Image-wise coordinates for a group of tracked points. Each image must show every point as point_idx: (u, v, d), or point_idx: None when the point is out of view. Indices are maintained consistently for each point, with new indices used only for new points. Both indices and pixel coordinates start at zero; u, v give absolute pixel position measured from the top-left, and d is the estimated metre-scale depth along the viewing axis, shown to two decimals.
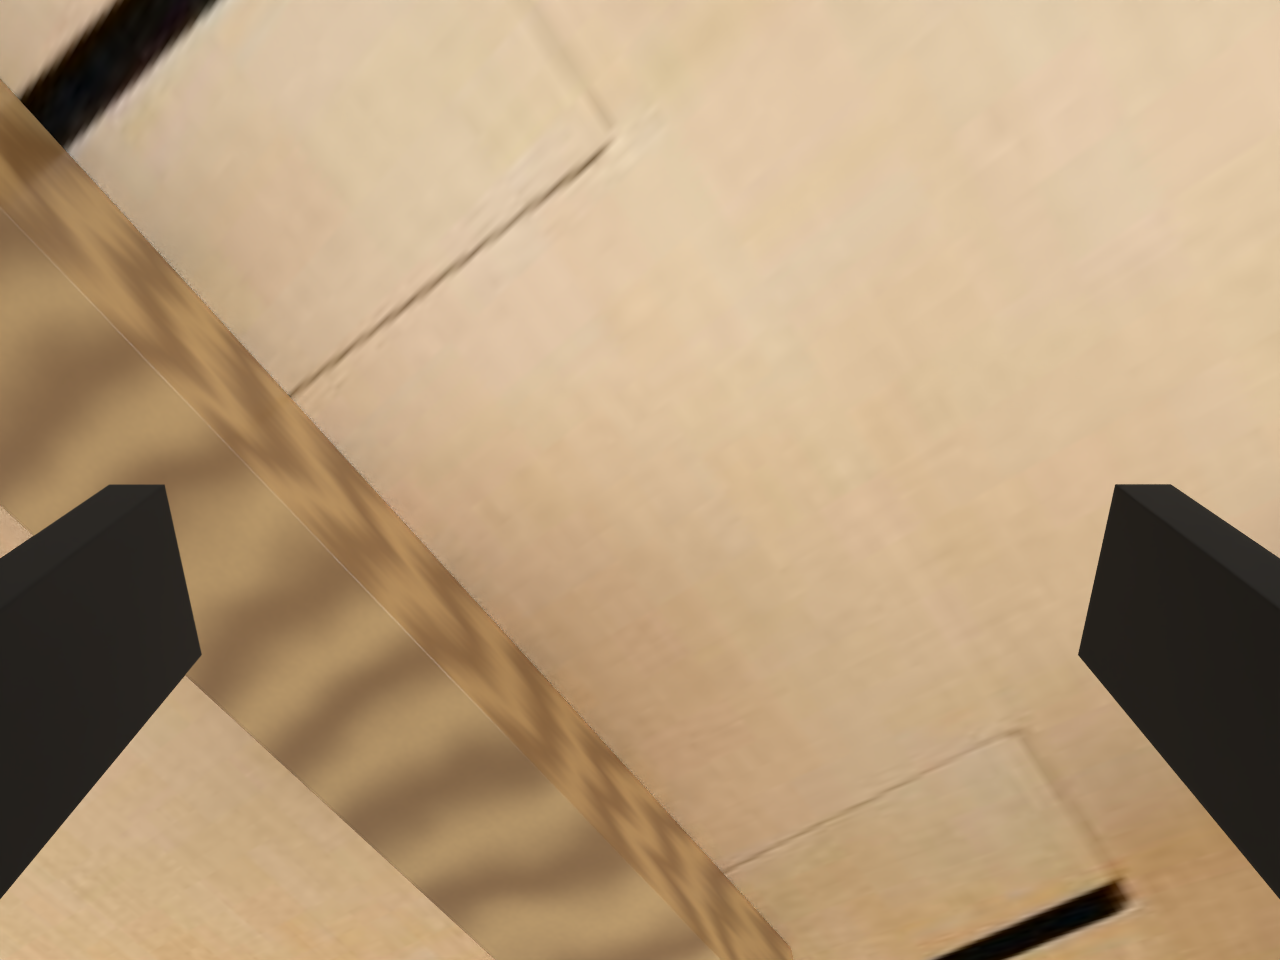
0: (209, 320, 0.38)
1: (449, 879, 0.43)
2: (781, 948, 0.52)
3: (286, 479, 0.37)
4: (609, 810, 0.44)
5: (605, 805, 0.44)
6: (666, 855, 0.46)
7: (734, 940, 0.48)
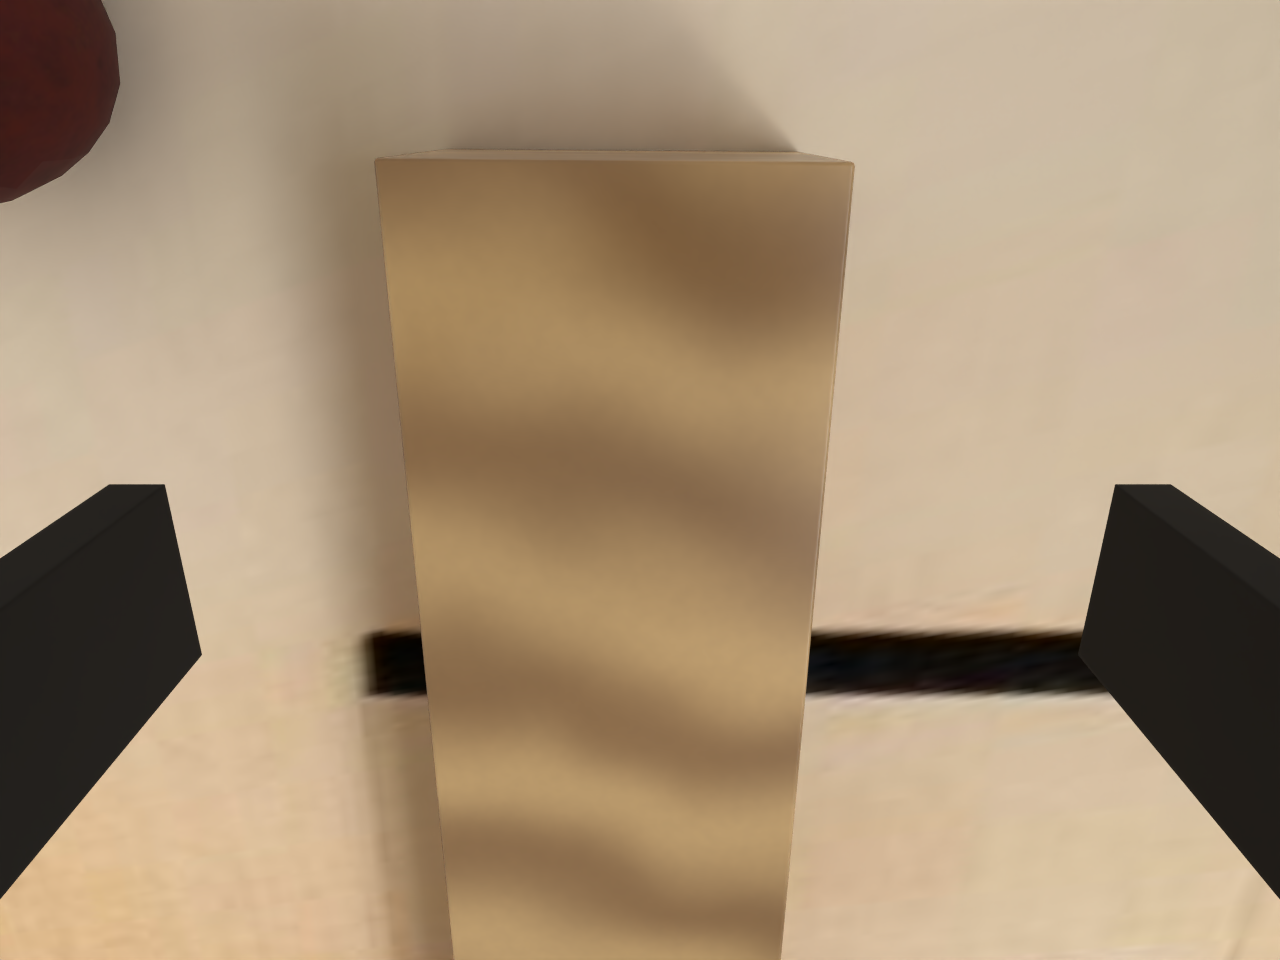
0: None
1: None
2: None
3: None
4: None
5: None
6: None
7: None
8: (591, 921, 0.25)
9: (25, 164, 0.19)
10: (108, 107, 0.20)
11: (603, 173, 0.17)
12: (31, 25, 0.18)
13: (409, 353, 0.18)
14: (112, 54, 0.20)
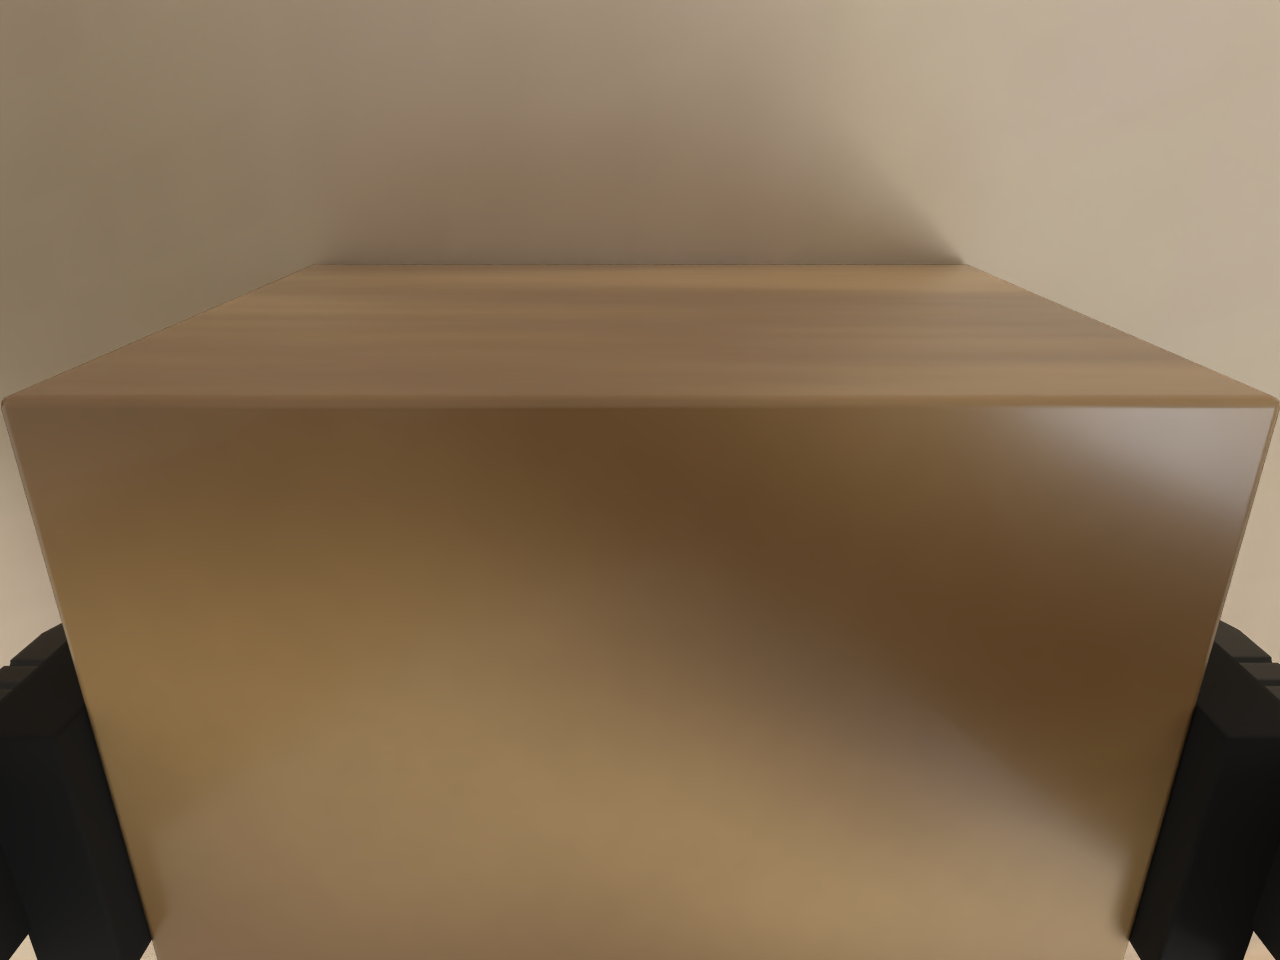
0: None
1: None
2: None
3: None
4: None
5: None
6: None
7: None
8: None
9: None
10: None
11: (611, 431, 0.06)
12: None
13: (153, 817, 0.08)
14: None
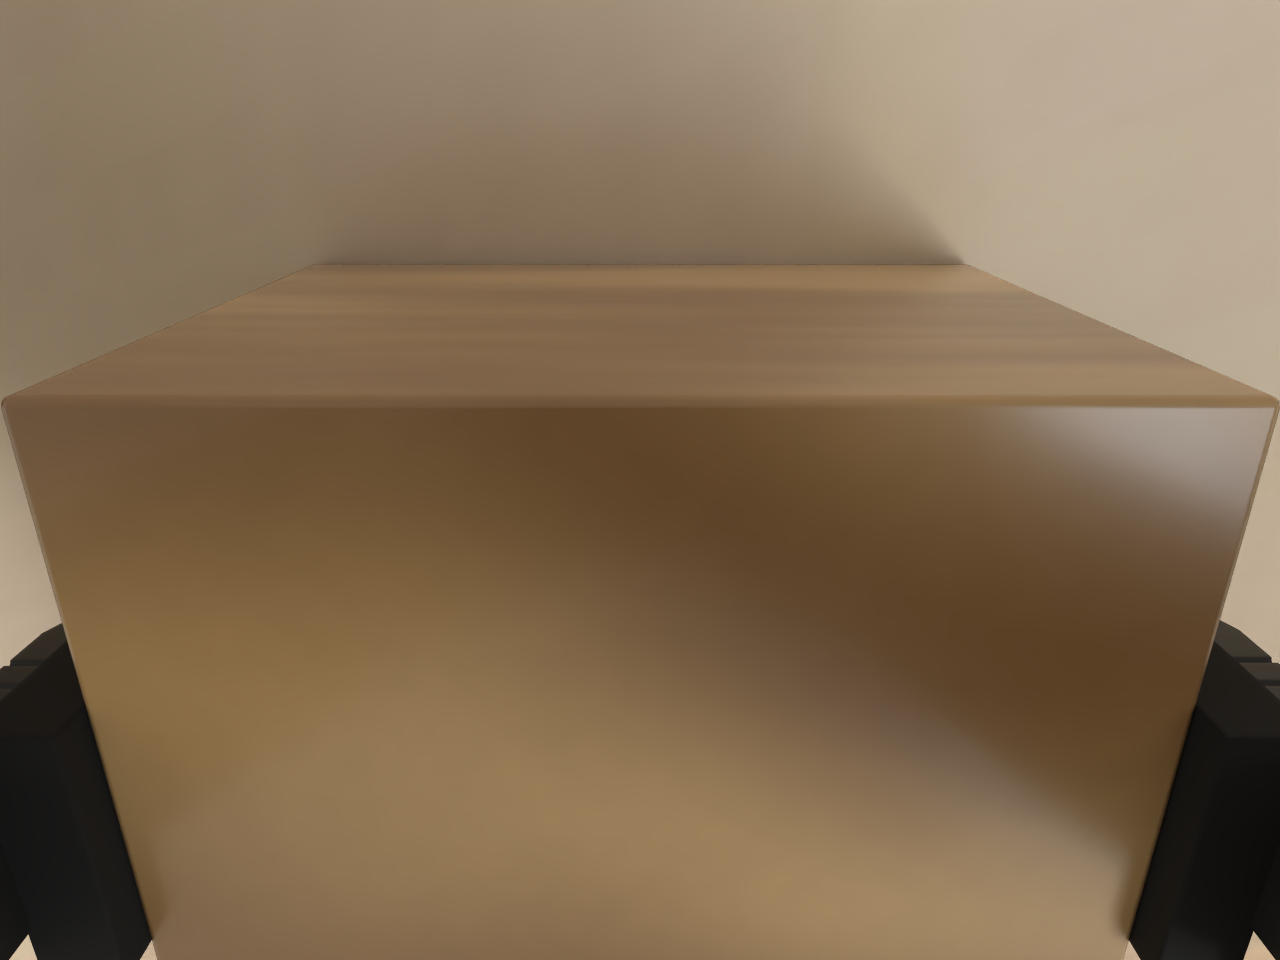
0: None
1: None
2: None
3: None
4: None
5: None
6: None
7: None
8: None
9: None
10: None
11: (611, 431, 0.06)
12: None
13: (152, 816, 0.08)
14: None
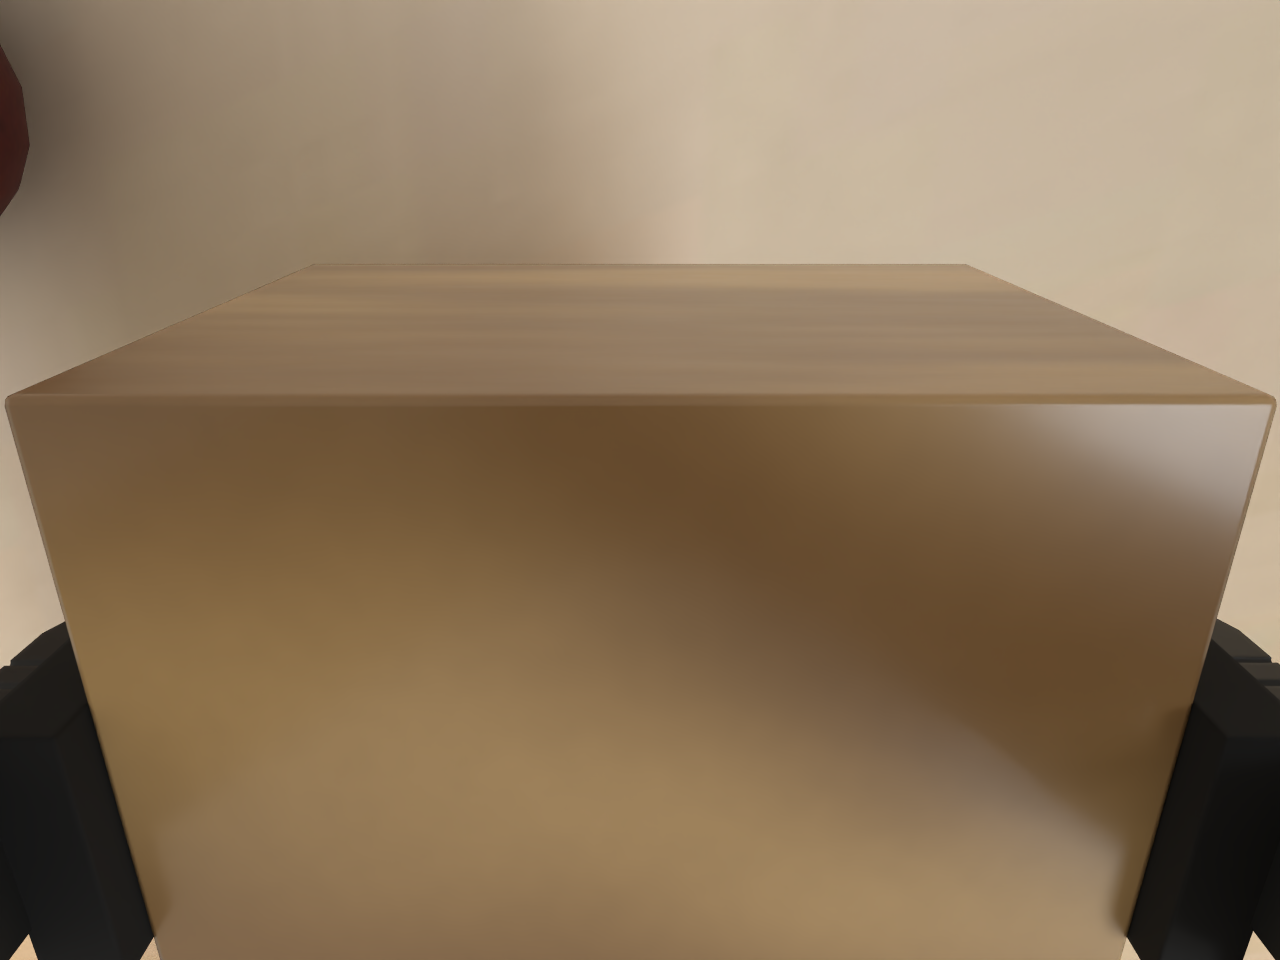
0: None
1: None
2: None
3: None
4: None
5: None
6: None
7: None
8: None
9: None
10: (15, 173, 0.18)
11: (612, 429, 0.06)
12: None
13: (155, 813, 0.08)
14: (19, 113, 0.17)
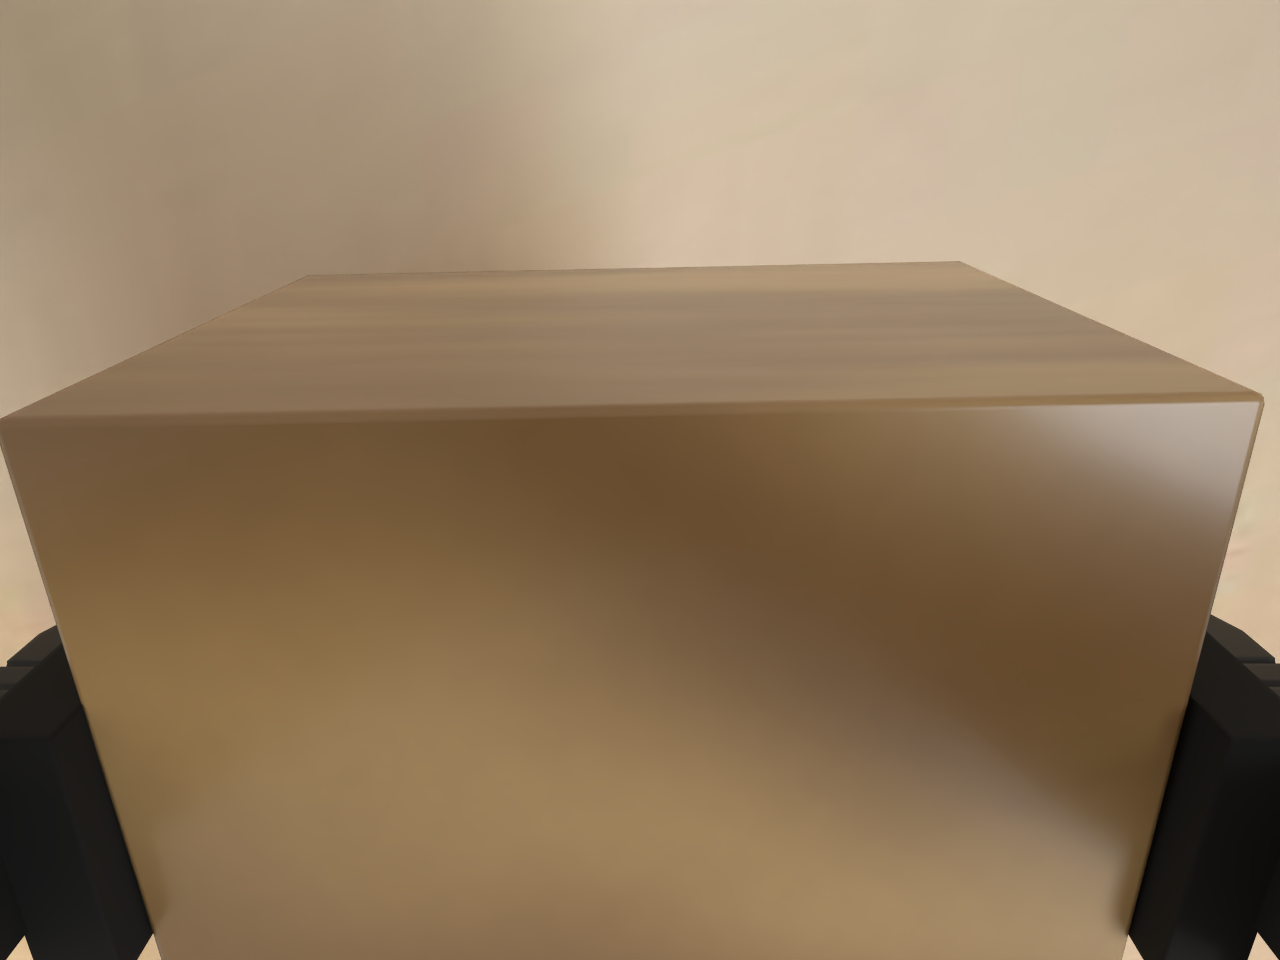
0: None
1: None
2: None
3: None
4: None
5: None
6: None
7: None
8: None
9: None
10: None
11: (598, 440, 0.06)
12: None
13: (155, 827, 0.08)
14: None
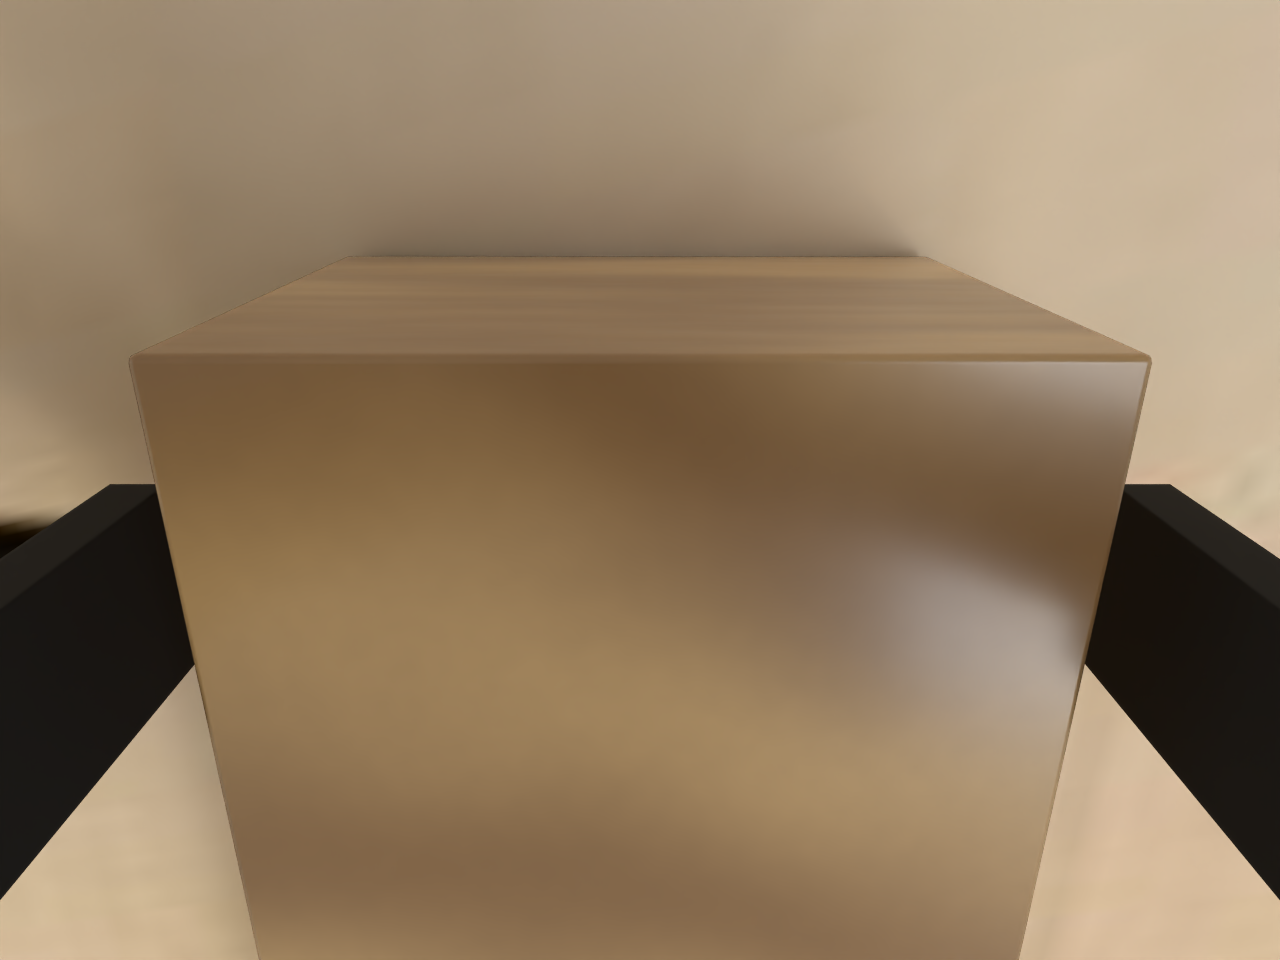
0: None
1: None
2: None
3: None
4: None
5: None
6: None
7: None
8: None
9: None
10: None
11: (619, 382, 0.08)
12: None
13: (235, 710, 0.09)
14: None
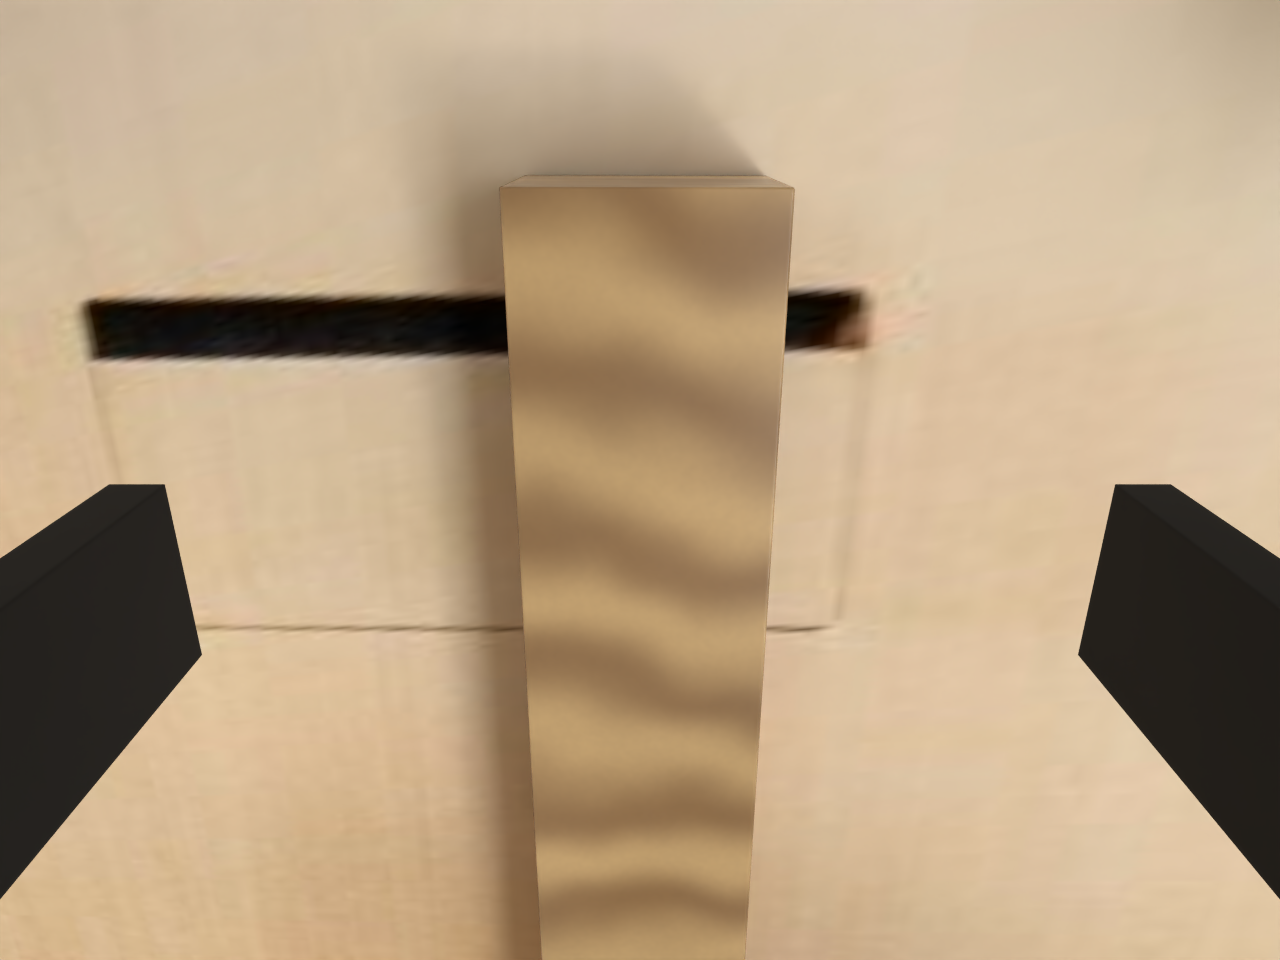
0: None
1: None
2: None
3: None
4: None
5: None
6: None
7: None
8: (626, 711, 0.35)
9: None
10: None
11: (640, 195, 0.28)
12: None
13: (516, 308, 0.29)
14: None
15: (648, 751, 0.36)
